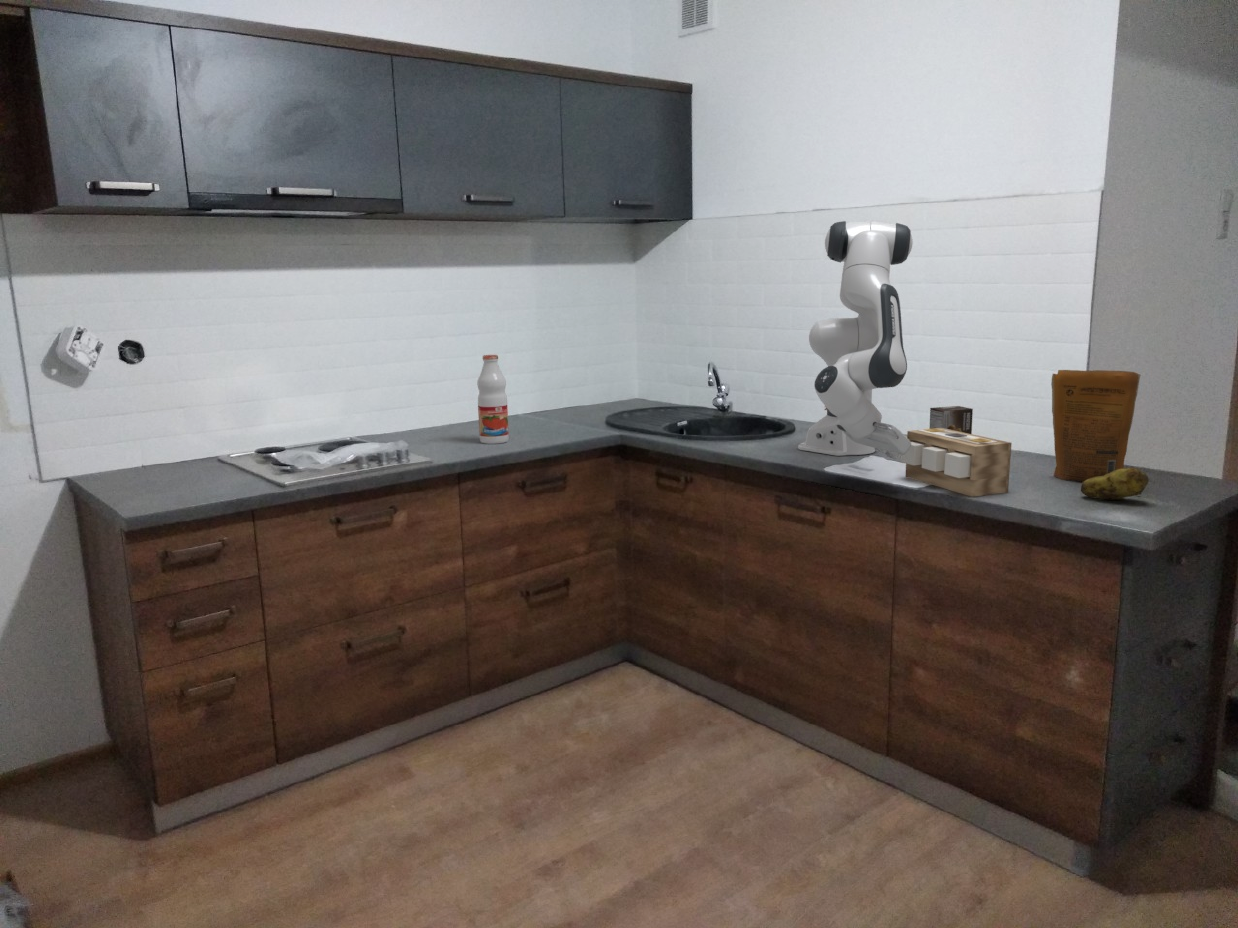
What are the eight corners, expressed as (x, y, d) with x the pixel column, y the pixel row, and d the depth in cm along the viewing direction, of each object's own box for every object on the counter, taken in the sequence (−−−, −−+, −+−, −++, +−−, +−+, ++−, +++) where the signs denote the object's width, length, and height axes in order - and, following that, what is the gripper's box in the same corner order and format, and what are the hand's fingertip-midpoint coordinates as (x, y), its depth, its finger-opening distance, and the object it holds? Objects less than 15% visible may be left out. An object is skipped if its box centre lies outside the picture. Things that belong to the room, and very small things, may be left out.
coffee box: (955, 463, 251) (959, 405, 248) (970, 467, 245) (974, 408, 242) (926, 465, 249) (929, 407, 246) (940, 470, 243) (944, 410, 240)
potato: (1093, 492, 216) (1096, 459, 215) (1151, 502, 206) (1154, 468, 205) (1076, 498, 211) (1078, 464, 210) (1134, 508, 201) (1137, 473, 200)
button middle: (935, 471, 221) (936, 451, 220) (921, 467, 225) (922, 447, 224) (964, 468, 224) (966, 448, 223) (950, 464, 229) (951, 444, 228)
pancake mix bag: (1125, 489, 219) (1137, 372, 213) (1042, 478, 231) (1051, 368, 225) (1133, 484, 223) (1144, 370, 218) (1051, 474, 236) (1060, 365, 230)
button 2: (959, 478, 214) (960, 457, 213) (944, 474, 218) (945, 453, 217) (989, 474, 217) (990, 453, 216) (973, 470, 221) (975, 450, 220)
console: (972, 496, 214) (975, 444, 212) (905, 476, 236) (907, 429, 234) (1008, 492, 218) (1011, 440, 216) (938, 472, 240) (941, 425, 237)
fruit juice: (503, 438, 303) (499, 353, 297) (513, 442, 295) (509, 355, 289) (476, 440, 299) (471, 355, 293) (485, 445, 290) (480, 357, 285)
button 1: (913, 465, 228) (914, 445, 227) (900, 461, 233) (901, 442, 232) (942, 462, 231) (943, 442, 230) (928, 458, 236) (929, 439, 235)
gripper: (897, 416, 214) (929, 453, 219) (845, 405, 232) (876, 439, 238) (881, 436, 213) (913, 473, 219) (830, 424, 232) (861, 458, 237)
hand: (893, 455), depth 228 cm, fingers closed
